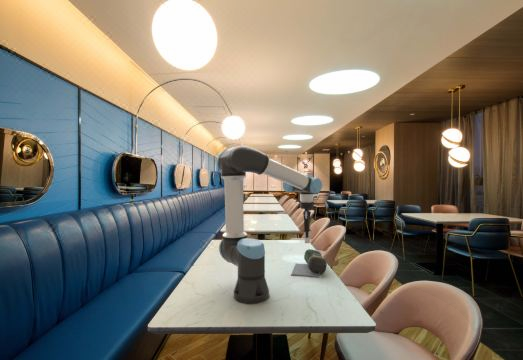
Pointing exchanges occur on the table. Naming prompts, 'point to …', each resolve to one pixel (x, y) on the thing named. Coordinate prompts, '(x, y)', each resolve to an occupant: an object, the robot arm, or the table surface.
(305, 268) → the mat
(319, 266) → the coffee jar
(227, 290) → the table surface
